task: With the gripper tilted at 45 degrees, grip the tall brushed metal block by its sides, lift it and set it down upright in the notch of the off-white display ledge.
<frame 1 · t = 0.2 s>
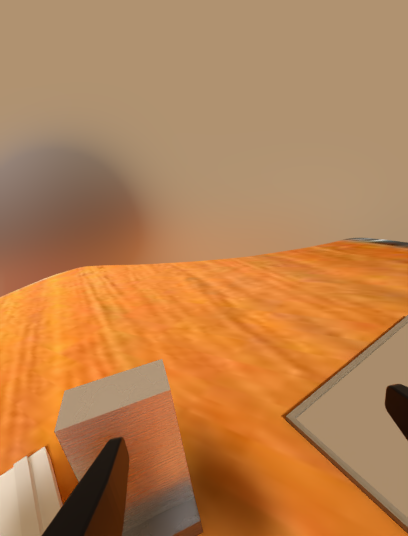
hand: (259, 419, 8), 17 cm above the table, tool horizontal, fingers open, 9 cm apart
tall brushed metal block: (153, 505, 20), on the table
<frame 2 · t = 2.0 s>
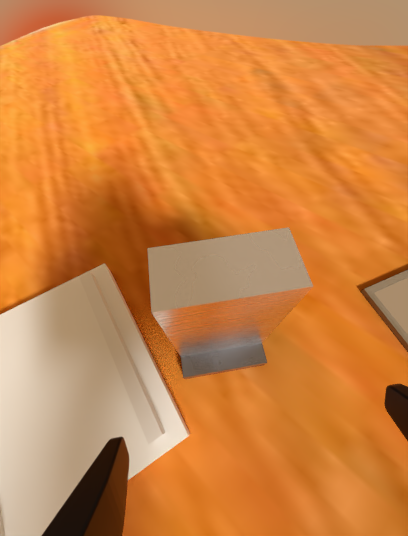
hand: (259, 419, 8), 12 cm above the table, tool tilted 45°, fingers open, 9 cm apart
display ledge: (64, 386, 20), on the table
tall brushed metal block: (217, 335, 21), on the table
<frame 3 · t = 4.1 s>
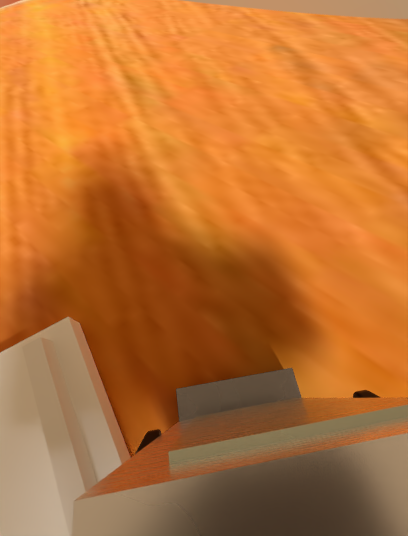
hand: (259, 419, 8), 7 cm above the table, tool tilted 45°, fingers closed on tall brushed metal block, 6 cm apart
tall brushed metal block: (244, 439, 13), on the table, touching gripper
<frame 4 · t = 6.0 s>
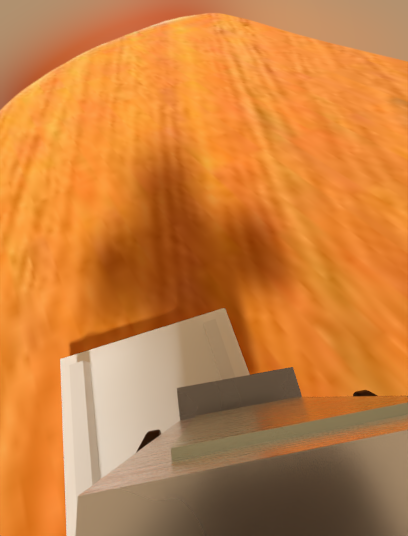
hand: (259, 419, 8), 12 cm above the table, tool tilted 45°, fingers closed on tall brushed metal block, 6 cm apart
display ledge: (171, 440, 18), on the table
tall brushed metal block: (245, 438, 13), point 6 cm above the table, touching gripper
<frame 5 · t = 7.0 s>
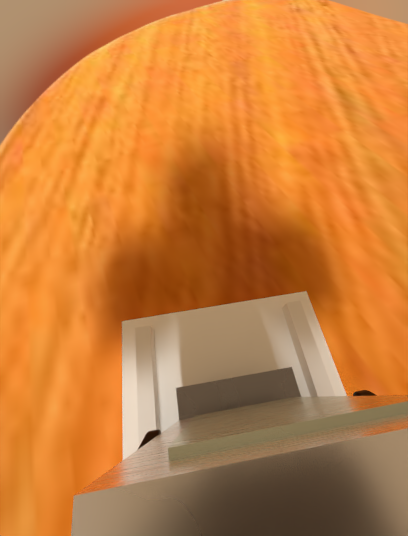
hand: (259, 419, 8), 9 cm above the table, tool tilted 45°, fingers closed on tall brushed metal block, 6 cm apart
display ledge: (238, 429, 16), on the table
tall brushed metal block: (244, 438, 13), point 3 cm above the table, touching gripper
when the fingers open (9 cm above the table, at t = 8.0 s): tall brushed metal block stays where it is, resting on display ledge.
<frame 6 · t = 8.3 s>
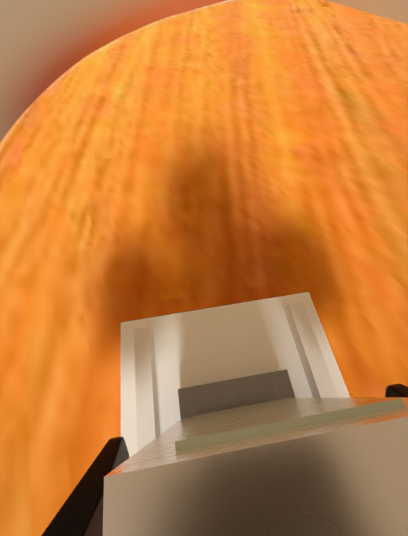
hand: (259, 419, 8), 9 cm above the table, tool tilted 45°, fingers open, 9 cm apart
display ledge: (239, 433, 15), on the table
tall brushed metal block: (242, 436, 14), point 1 cm above the table, touching display ledge
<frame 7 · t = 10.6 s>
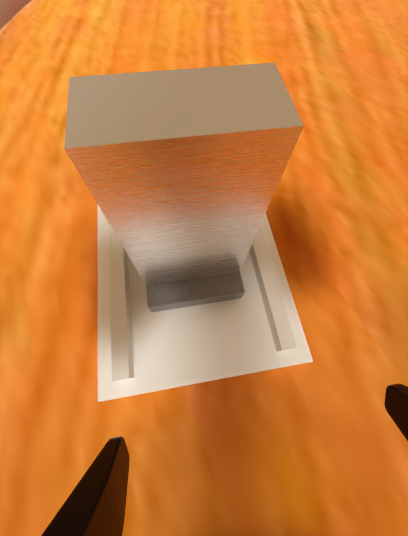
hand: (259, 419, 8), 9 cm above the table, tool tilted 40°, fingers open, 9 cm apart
display ledge: (191, 274, 20), on the table
tall brushed metal block: (191, 267, 19), point 1 cm above the table, touching display ledge
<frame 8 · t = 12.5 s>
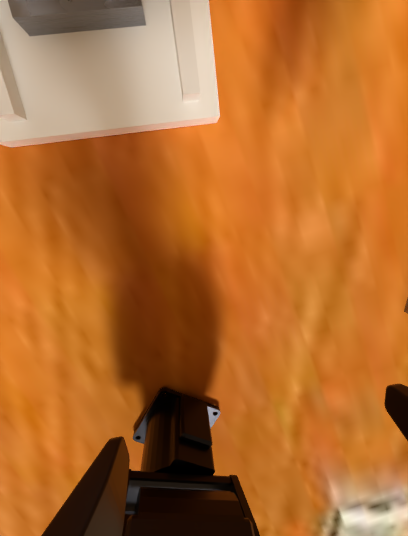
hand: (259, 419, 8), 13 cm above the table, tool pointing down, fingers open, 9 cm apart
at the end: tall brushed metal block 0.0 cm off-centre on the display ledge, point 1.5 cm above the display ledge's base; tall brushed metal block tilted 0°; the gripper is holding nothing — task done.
